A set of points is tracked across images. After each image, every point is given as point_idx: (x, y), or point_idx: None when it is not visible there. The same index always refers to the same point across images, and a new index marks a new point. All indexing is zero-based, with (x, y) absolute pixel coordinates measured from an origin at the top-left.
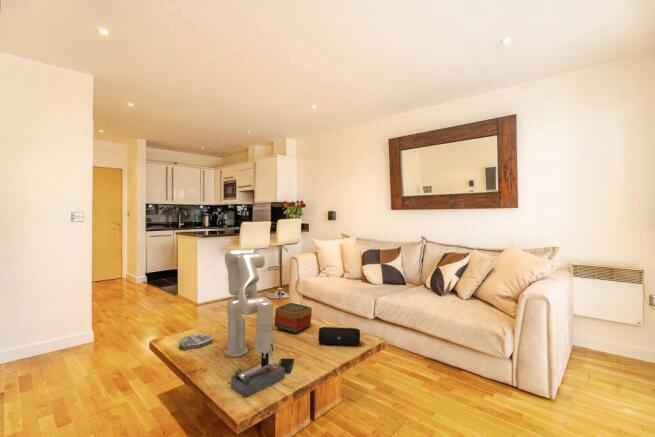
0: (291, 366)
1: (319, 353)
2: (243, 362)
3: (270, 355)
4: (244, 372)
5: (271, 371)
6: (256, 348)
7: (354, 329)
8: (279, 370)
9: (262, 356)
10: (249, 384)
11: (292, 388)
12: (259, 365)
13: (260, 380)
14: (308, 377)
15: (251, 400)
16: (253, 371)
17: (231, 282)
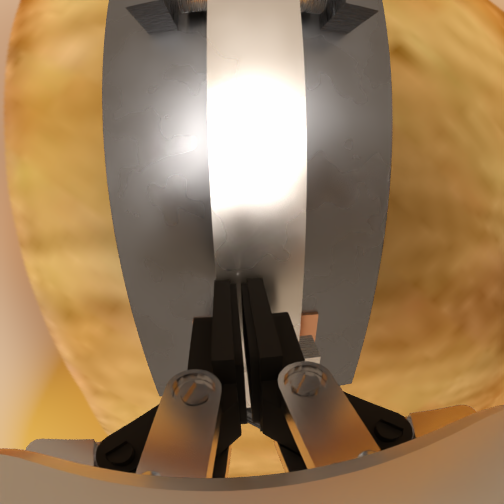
0: (251, 419)
1: None
2: (491, 264)
3: (34, 445)
4: (287, 20)
5: (175, 313)
6: (490, 447)
7: None
8: (149, 361)
9: (282, 383)
10: (108, 21)
11: (56, 309)
12: (290, 263)
13: (108, 145)
14: (114, 406)
15: (88, 44)
16: (211, 110)
17: None
